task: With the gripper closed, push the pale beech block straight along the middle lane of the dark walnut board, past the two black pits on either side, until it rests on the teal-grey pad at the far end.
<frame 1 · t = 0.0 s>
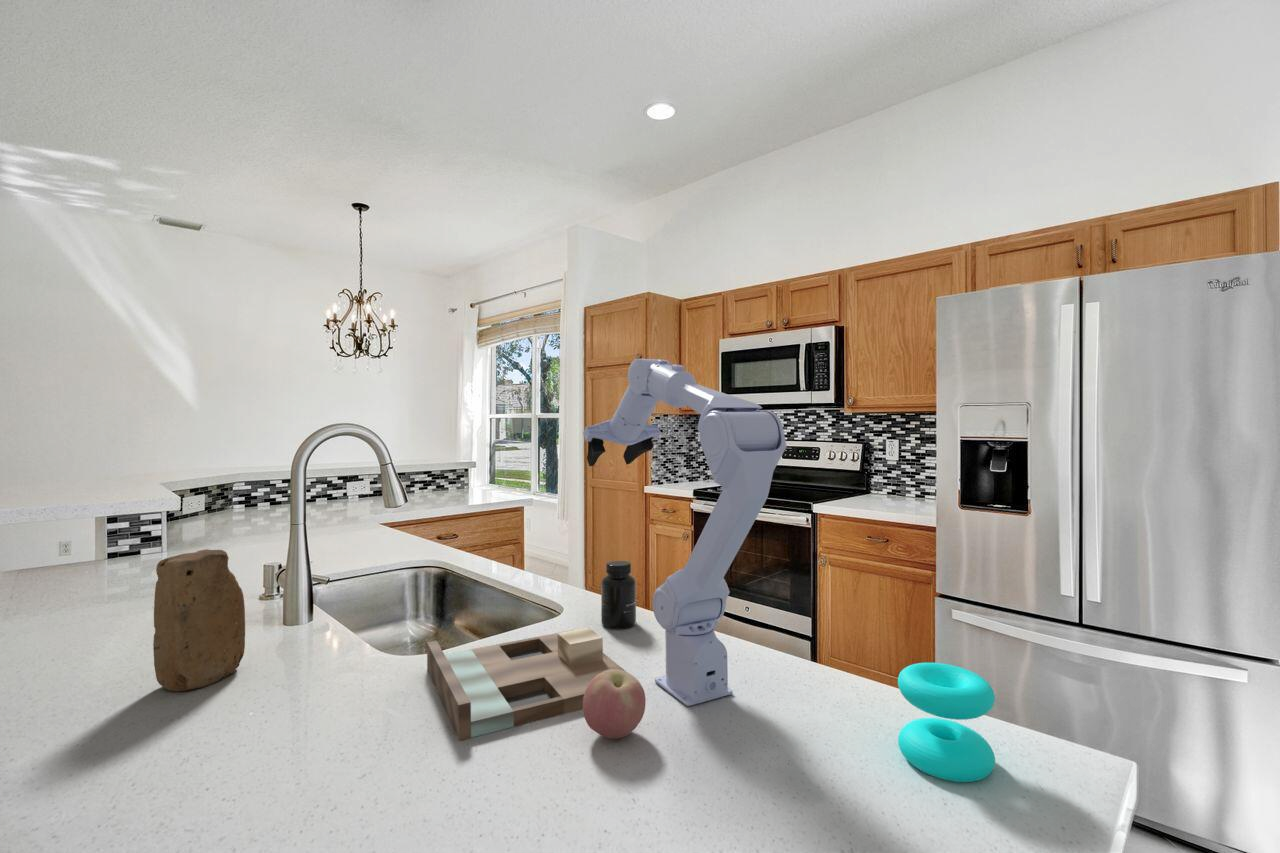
hand: (608, 461, 113), 32 cm above the counter, tool tilted 50°, fingers open, 7 cm apart
donuts: (945, 763, 69), on the counter
apple: (614, 737, 76), on the counter
beech block: (580, 657, 96), point 2 cm above the counter, touching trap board
supplement bottle: (618, 625, 117), on the counter
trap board: (532, 680, 92), on the counter
block: (202, 680, 94), on the counter
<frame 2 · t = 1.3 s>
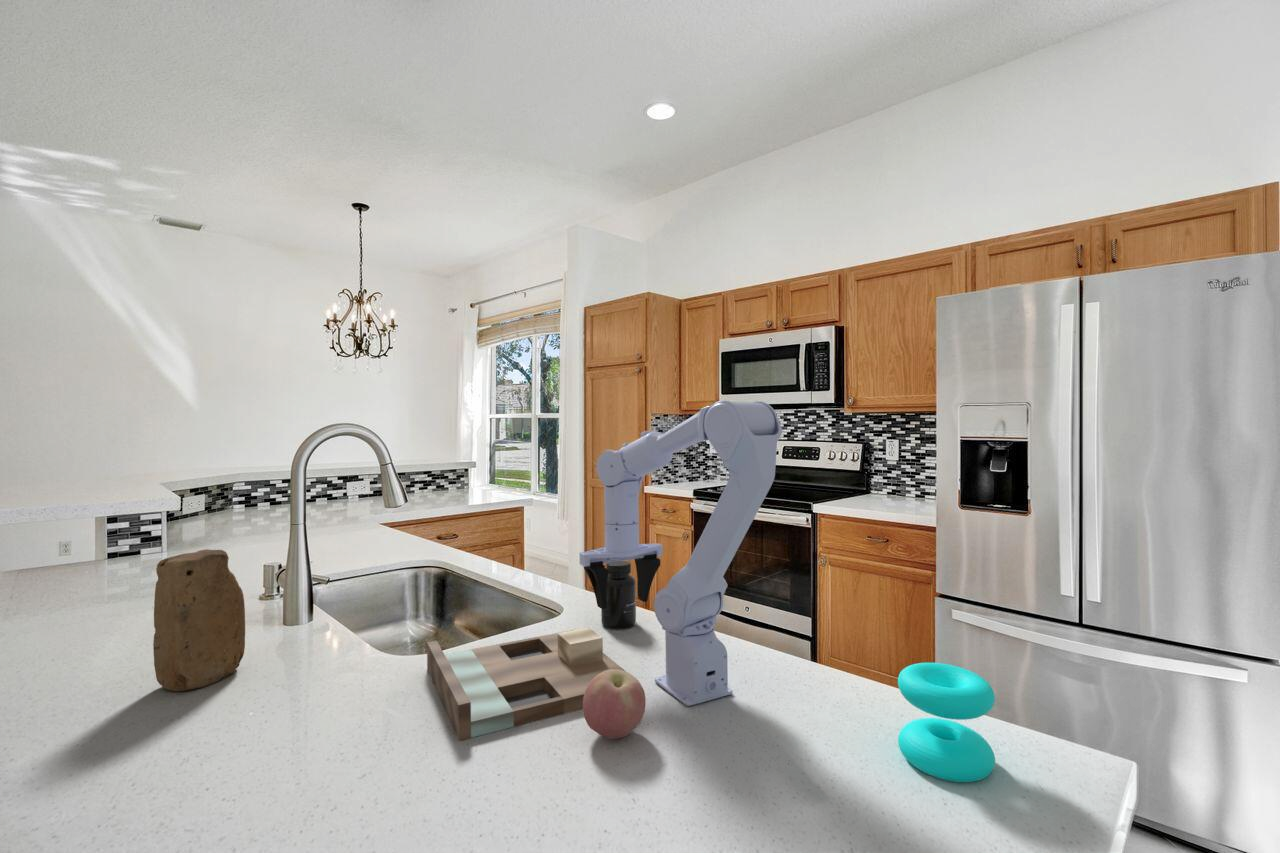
hand: (622, 603, 99), 9 cm above the counter, tool pointing down, fingers open, 7 cm apart
nothing on the counter moved.
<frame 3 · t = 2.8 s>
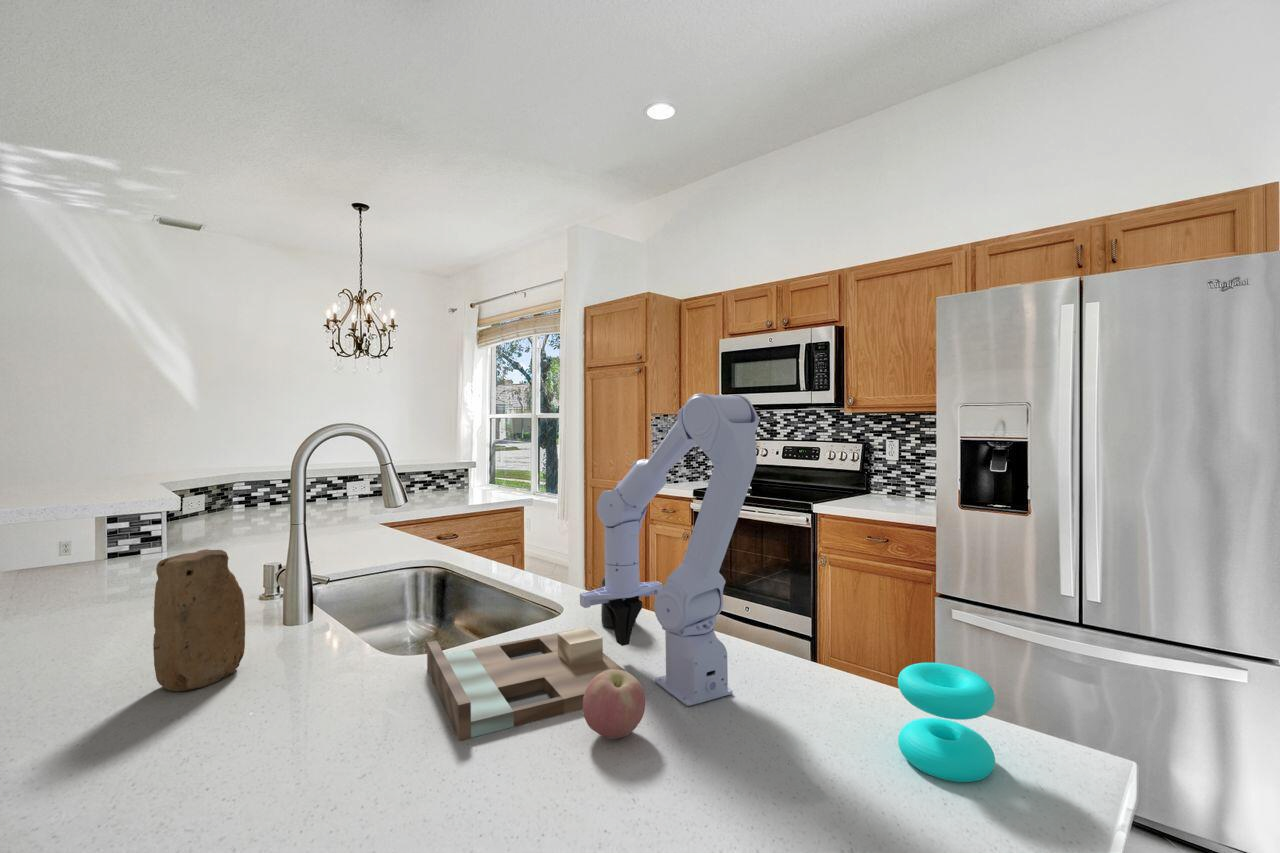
hand: (622, 643, 99), 3 cm above the counter, tool pointing down, fingers closed
nothing on the counter moved.
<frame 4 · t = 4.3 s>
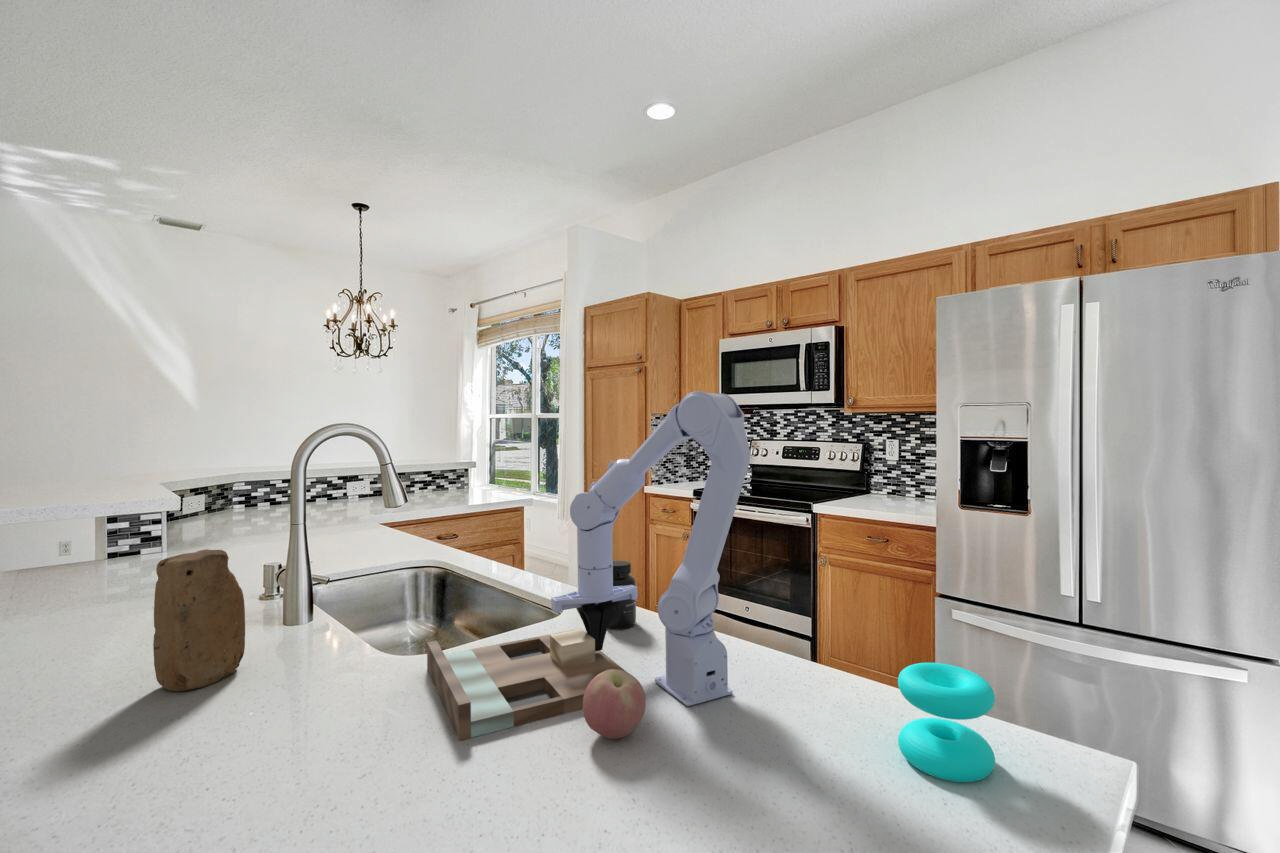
hand: (596, 648, 97), 3 cm above the counter, tool pointing down, fingers closed
beech block: (572, 658, 95), point 2 cm above the counter, touching gripper, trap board
everything else where it was.
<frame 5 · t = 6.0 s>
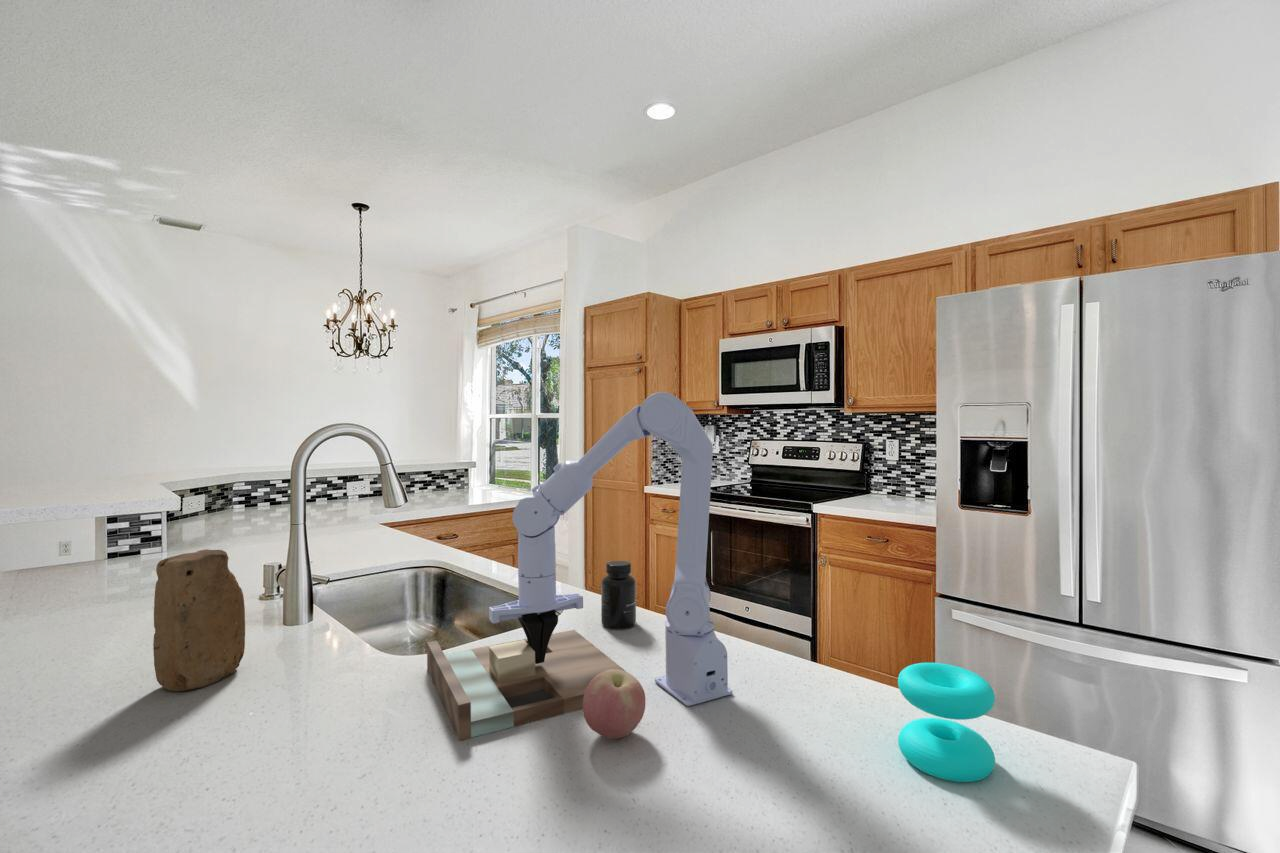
hand: (538, 660, 92), 3 cm above the counter, tool pointing down, fingers closed
beech block: (512, 671, 90), point 2 cm above the counter, touching gripper
everything else where it was.
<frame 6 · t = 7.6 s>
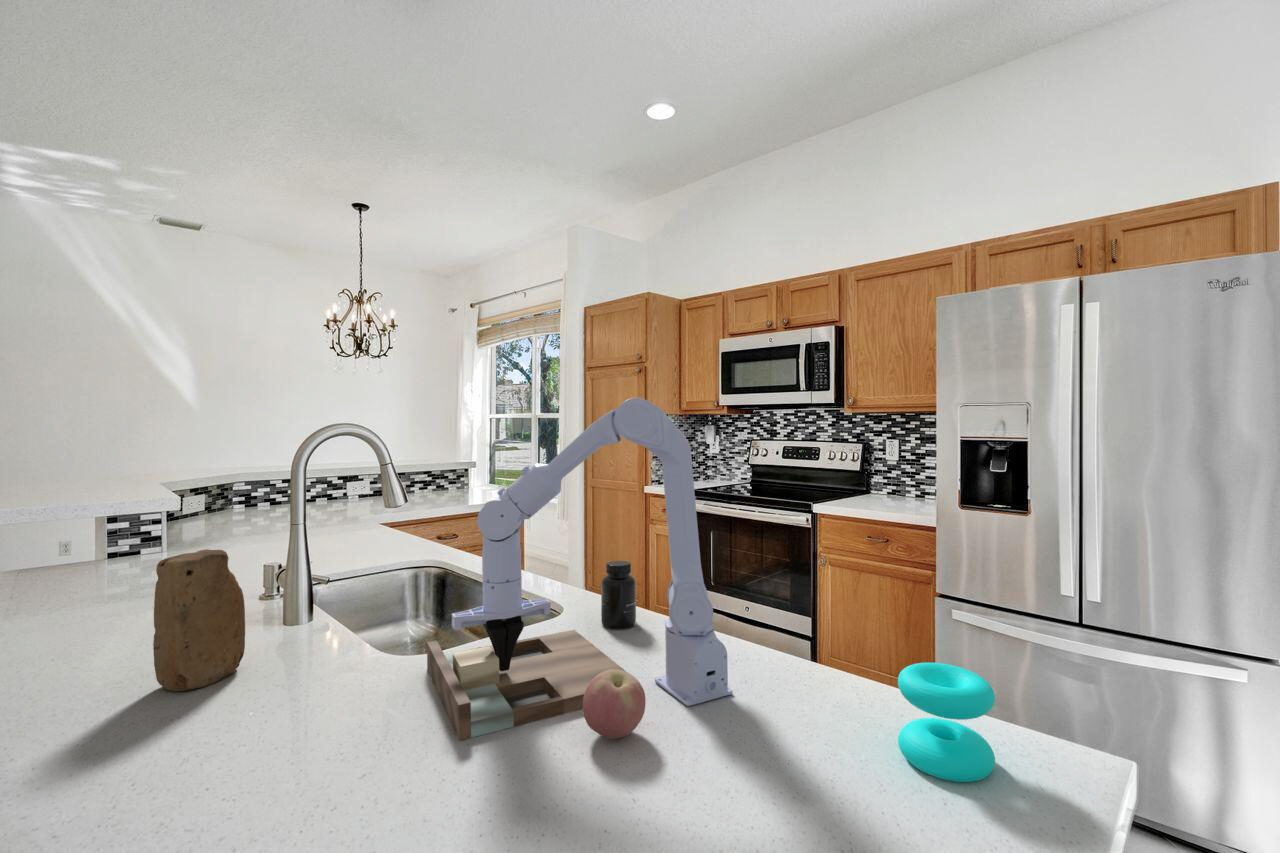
hand: (503, 668, 90), 3 cm above the counter, tool pointing down, fingers closed
beech block: (475, 679, 88), point 2 cm above the counter, touching gripper, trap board
everything else where it was.
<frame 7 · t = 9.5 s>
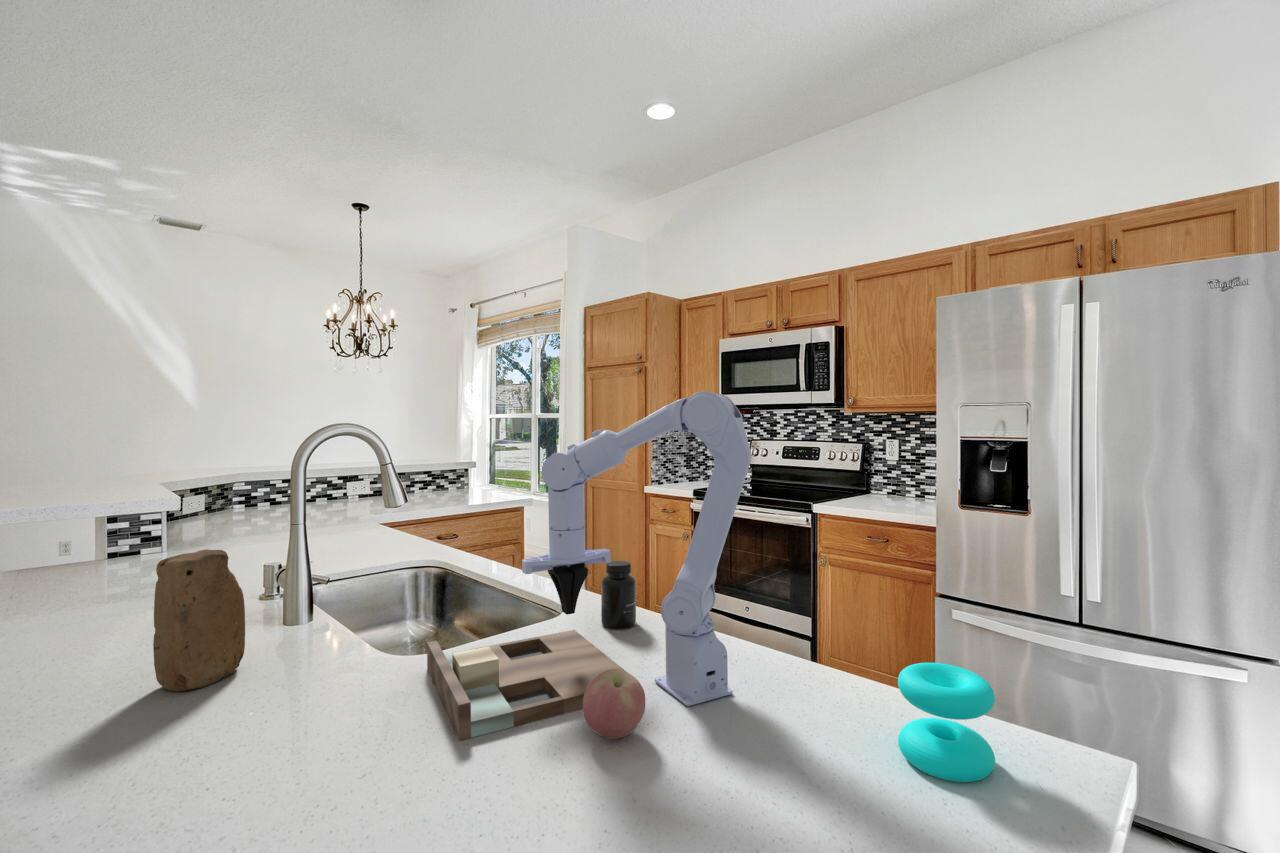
hand: (568, 612, 96), 9 cm above the counter, tool pointing down, fingers closed
beech block: (475, 679, 88), point 2 cm above the counter, touching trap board
everything else where it was.
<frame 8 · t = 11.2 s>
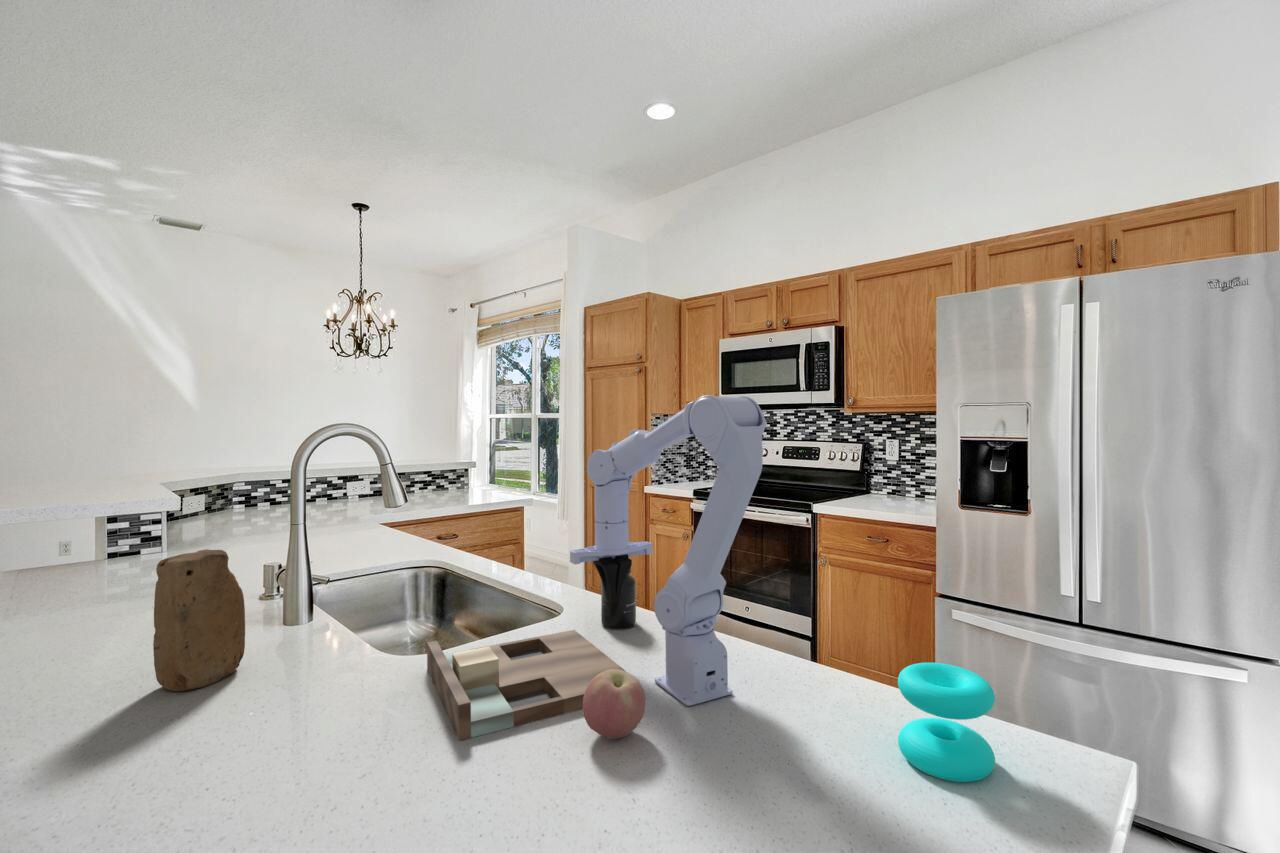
hand: (612, 601, 101), 9 cm above the counter, tool pointing down, fingers closed
nothing on the counter moved.
at the end: beech block 0.2 cm from the target spot, point 2.0 cm above the counter; beech block tilted 0° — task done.
